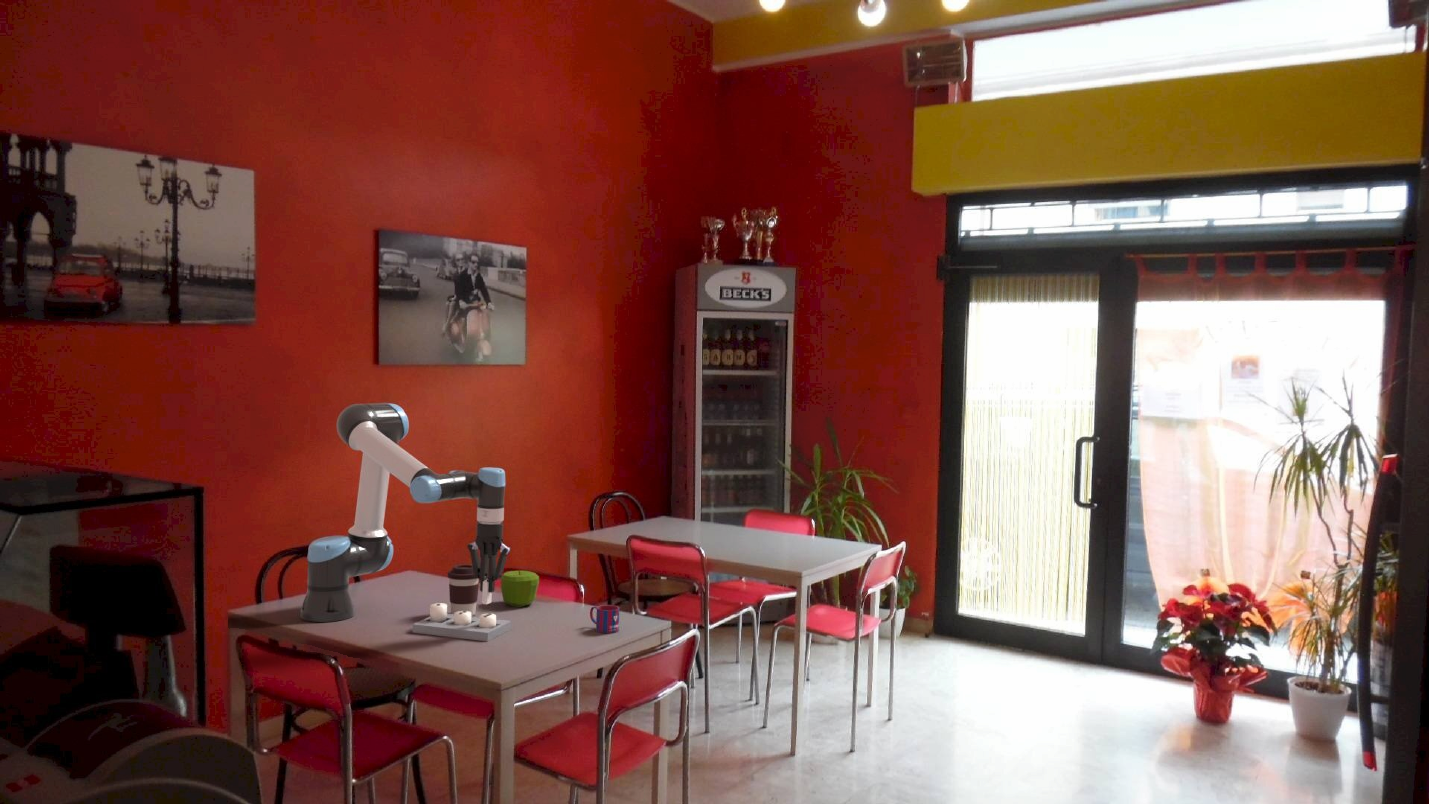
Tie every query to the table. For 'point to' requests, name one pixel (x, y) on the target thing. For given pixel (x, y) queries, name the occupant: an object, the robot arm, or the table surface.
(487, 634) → the console
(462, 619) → the button
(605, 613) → the cup
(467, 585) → the coffee cup
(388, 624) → the table surface
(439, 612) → the button
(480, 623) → the button
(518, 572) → the apple
